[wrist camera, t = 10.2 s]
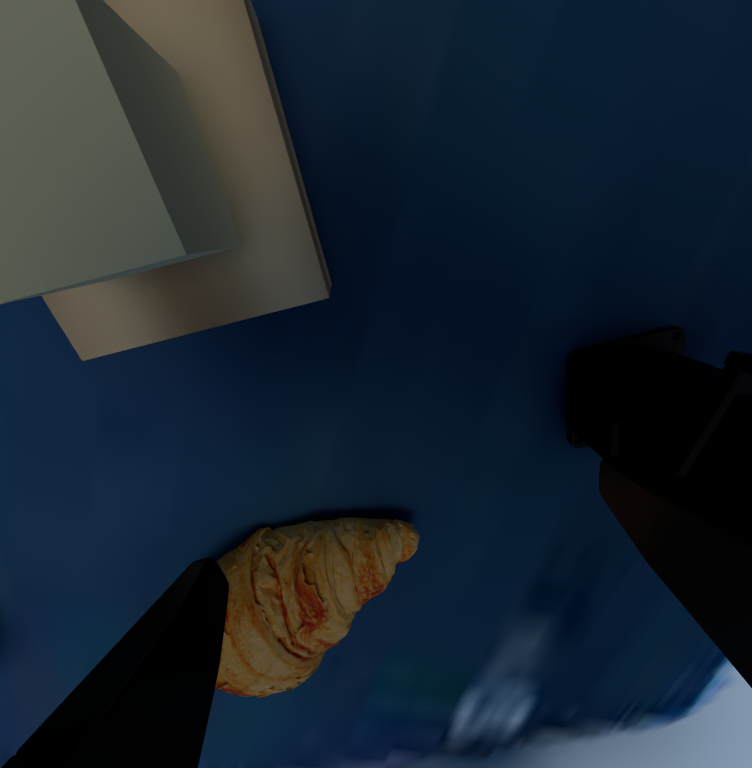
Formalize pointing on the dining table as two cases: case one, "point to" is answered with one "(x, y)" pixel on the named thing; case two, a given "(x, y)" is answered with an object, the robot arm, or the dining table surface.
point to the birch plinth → (237, 181)
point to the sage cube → (96, 154)
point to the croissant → (301, 596)
